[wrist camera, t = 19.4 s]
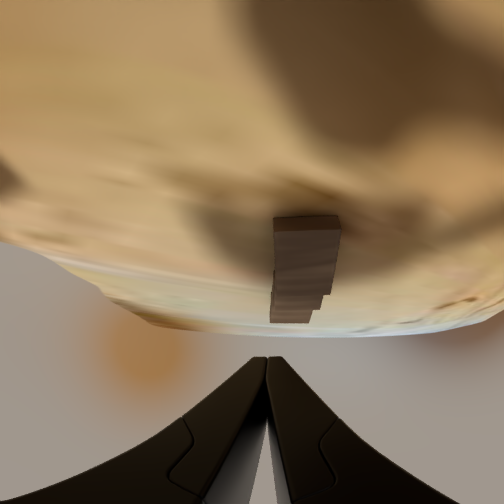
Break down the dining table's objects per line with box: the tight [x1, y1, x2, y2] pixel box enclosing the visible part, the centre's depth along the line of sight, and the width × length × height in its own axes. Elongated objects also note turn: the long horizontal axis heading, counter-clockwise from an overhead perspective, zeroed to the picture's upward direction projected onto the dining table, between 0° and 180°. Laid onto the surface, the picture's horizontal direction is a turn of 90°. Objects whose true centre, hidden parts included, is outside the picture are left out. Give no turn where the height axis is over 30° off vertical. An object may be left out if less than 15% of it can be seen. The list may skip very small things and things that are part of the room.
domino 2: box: [274, 266, 323, 311], centre depth 28 cm, size 2×5×8 cm
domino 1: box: [273, 216, 341, 297], centre depth 24 cm, size 2×5×8 cm
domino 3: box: [270, 270, 313, 323], centre depth 33 cm, size 2×5×8 cm
